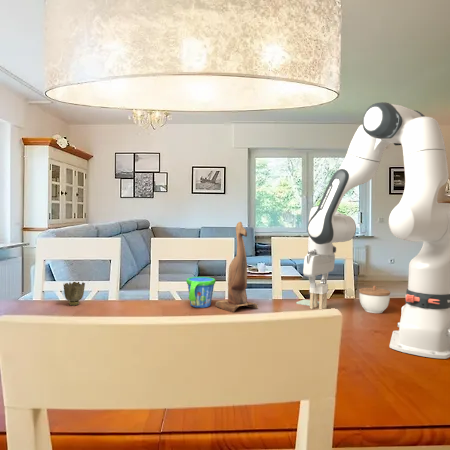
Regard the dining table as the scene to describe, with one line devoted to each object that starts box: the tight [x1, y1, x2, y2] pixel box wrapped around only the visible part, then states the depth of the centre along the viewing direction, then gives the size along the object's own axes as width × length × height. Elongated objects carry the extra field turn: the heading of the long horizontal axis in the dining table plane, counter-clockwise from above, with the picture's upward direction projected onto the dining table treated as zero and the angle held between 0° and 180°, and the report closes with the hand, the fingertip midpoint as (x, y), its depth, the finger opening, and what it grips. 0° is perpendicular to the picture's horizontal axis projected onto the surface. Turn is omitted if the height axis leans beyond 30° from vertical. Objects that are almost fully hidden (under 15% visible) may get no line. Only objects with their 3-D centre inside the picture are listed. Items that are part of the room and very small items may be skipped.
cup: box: [63, 281, 86, 307], centre depth 155 cm, size 8×7×8 cm
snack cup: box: [185, 276, 216, 309], centre depth 158 cm, size 16×10×10 cm
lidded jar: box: [358, 285, 391, 314], centre depth 155 cm, size 11×11×9 cm
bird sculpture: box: [215, 221, 259, 314], centre depth 155 cm, size 11×12×32 cm
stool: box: [309, 282, 329, 310], centre depth 158 cm, size 5×5×9 cm
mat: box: [295, 298, 319, 307], centre depth 166 cm, size 7×7×1 cm
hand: (318, 286), depth 158 cm, fingers open, 8 cm apart
